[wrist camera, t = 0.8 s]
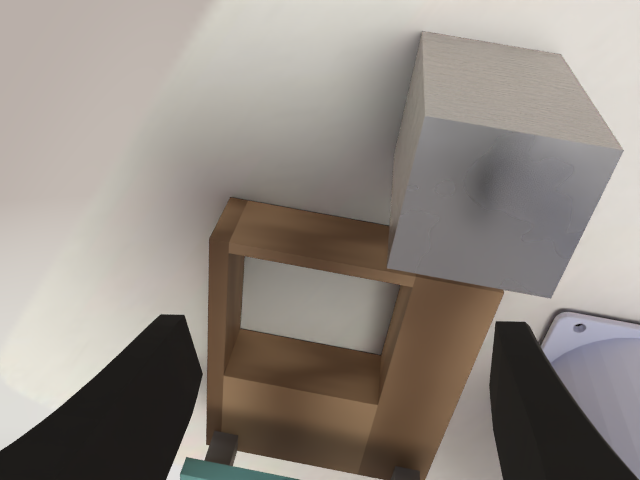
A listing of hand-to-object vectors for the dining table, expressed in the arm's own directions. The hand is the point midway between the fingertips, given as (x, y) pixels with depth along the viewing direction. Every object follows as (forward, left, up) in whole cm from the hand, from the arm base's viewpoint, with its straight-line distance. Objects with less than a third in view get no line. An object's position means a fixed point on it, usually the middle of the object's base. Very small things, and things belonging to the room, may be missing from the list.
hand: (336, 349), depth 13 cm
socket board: (0, +10, -10) cm, 14 cm away
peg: (-3, -2, -10) cm, 11 cm away
